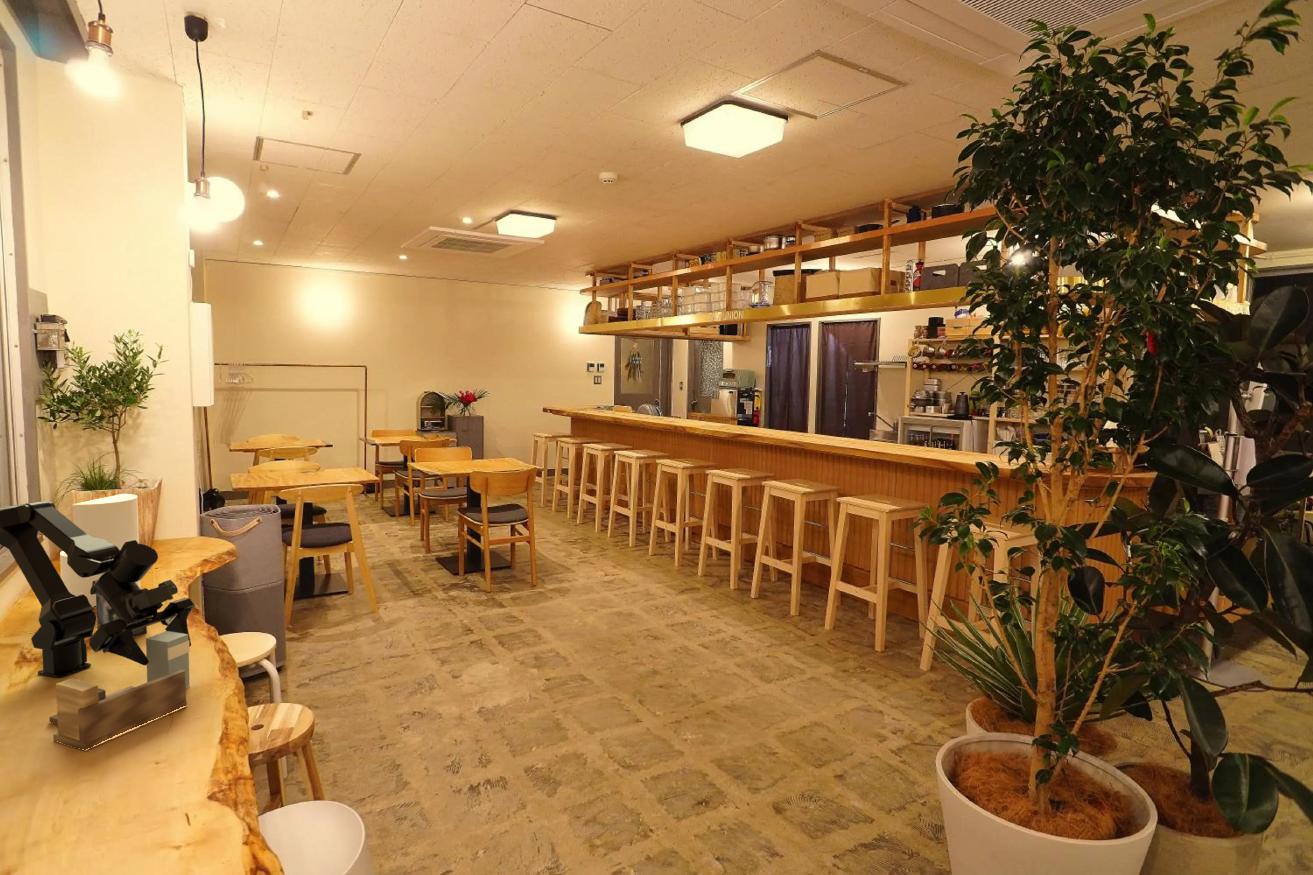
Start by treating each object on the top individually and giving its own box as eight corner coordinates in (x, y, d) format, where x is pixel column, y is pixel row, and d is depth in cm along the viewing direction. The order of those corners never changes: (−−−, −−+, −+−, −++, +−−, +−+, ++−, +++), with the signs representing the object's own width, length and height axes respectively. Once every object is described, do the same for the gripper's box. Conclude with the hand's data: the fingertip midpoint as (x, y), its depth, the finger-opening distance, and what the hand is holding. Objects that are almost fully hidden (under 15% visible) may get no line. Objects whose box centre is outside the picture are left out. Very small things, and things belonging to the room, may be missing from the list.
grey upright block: (169, 695, 139) (168, 642, 138) (147, 691, 140) (145, 638, 139) (190, 686, 143) (189, 634, 142) (168, 682, 144) (167, 630, 143)
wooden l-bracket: (85, 751, 118) (82, 693, 117) (26, 731, 123) (24, 676, 123) (186, 707, 134) (185, 655, 133) (131, 691, 140) (129, 642, 139)
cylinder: (155, 589, 204) (152, 494, 201) (108, 608, 186) (104, 505, 184) (97, 587, 204) (93, 492, 202) (44, 606, 187) (39, 503, 184)
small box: (94, 632, 170) (93, 590, 169) (125, 624, 176) (123, 583, 175) (117, 641, 165) (116, 598, 164) (148, 632, 171) (147, 591, 170)
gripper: (97, 584, 132) (145, 647, 130) (186, 560, 150) (230, 615, 148) (68, 620, 134) (114, 683, 133) (159, 592, 152) (201, 647, 151)
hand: (168, 655), depth 141 cm, fingers open, 9 cm apart
